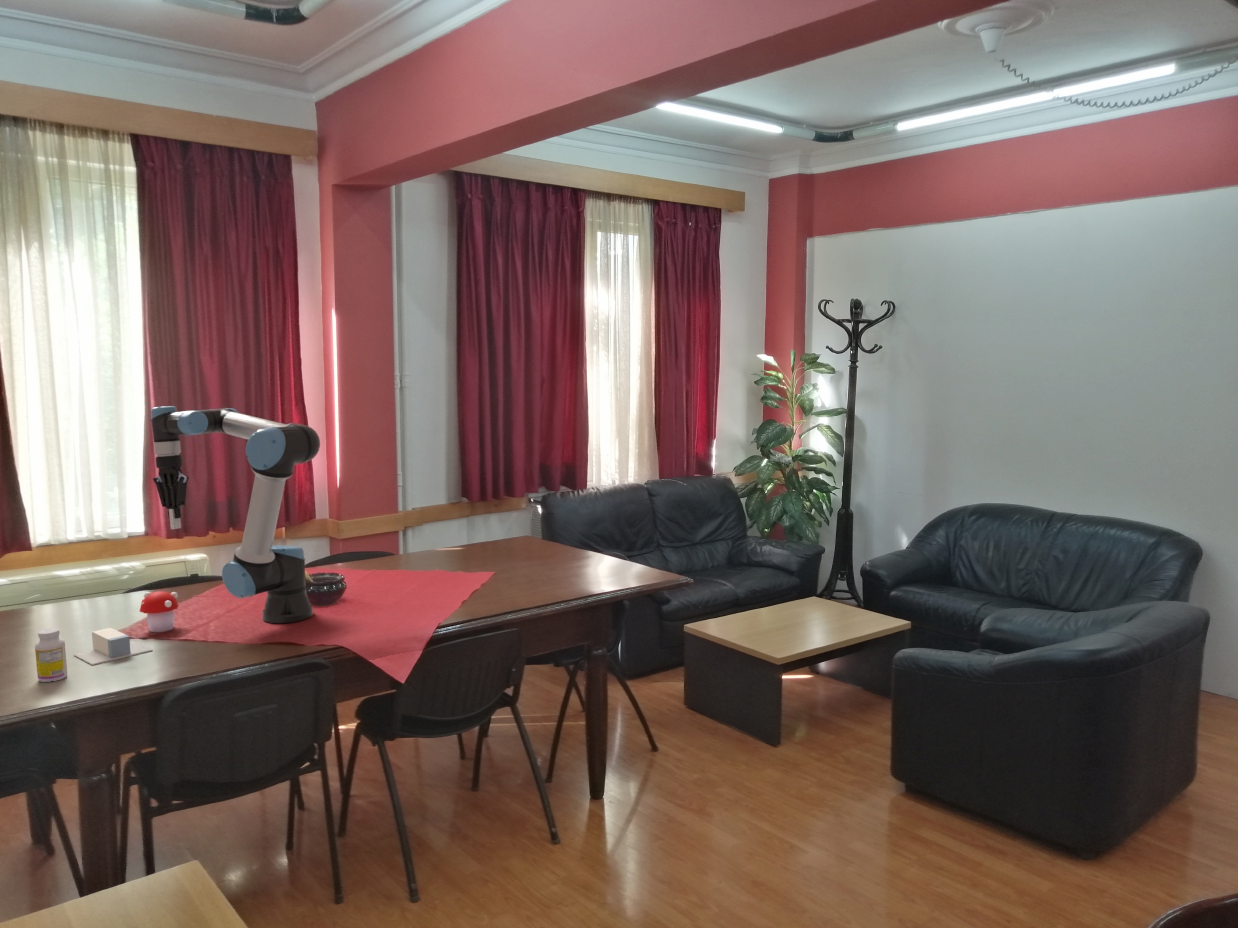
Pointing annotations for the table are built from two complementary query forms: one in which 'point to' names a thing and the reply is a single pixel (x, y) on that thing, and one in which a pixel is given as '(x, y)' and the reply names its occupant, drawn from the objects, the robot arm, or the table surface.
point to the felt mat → (98, 657)
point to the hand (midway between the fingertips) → (176, 528)
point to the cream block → (111, 642)
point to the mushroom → (159, 610)
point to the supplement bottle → (50, 656)
